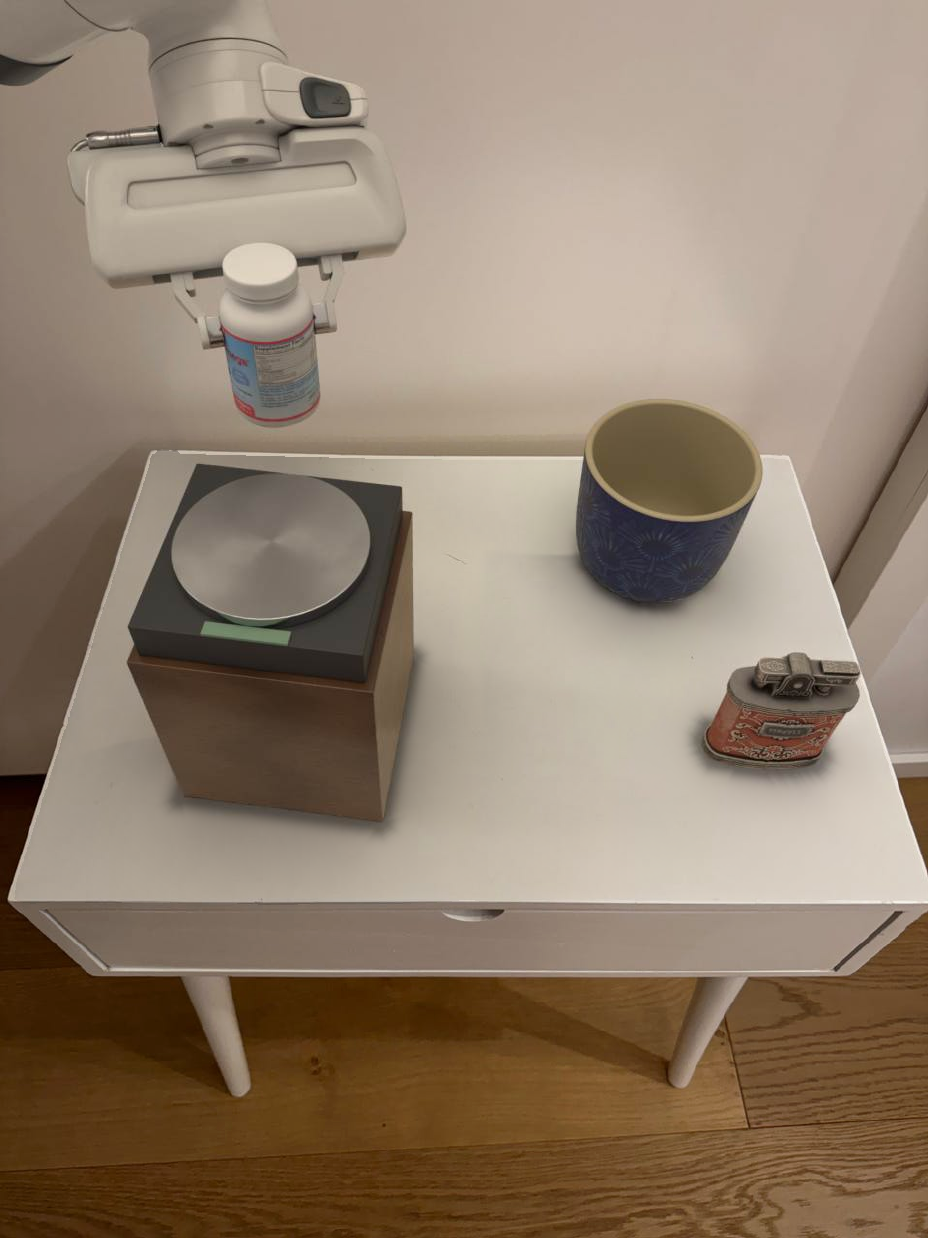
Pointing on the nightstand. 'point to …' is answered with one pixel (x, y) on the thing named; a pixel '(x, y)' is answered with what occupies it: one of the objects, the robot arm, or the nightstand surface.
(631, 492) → the planter
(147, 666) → the walnut riser
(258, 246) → the pill bottle
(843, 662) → the lighter
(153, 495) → the nightstand surface
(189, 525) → the kitchen scale
